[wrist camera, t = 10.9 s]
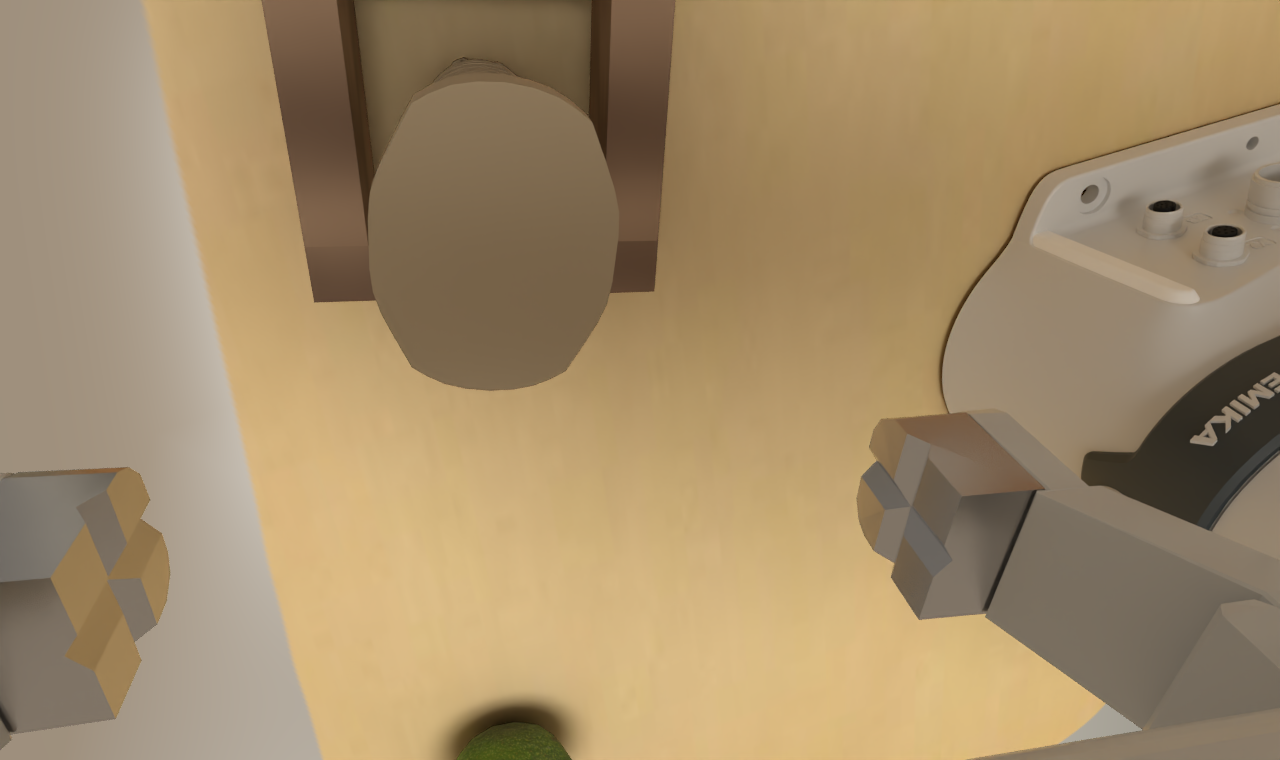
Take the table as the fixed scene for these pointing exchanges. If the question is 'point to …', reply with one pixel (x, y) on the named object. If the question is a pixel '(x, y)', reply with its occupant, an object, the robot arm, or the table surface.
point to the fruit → (514, 744)
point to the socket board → (341, 149)
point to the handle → (492, 229)
